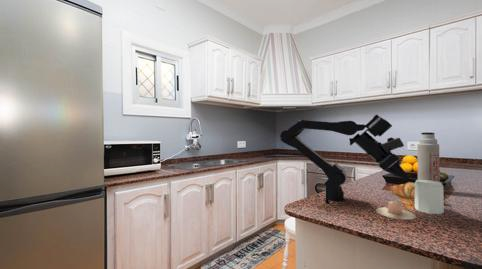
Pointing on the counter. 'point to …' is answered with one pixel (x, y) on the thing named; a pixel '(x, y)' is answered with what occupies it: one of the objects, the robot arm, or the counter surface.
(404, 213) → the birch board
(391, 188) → the croissant
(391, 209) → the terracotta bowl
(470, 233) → the counter surface
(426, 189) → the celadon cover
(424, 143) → the thermos bottle
